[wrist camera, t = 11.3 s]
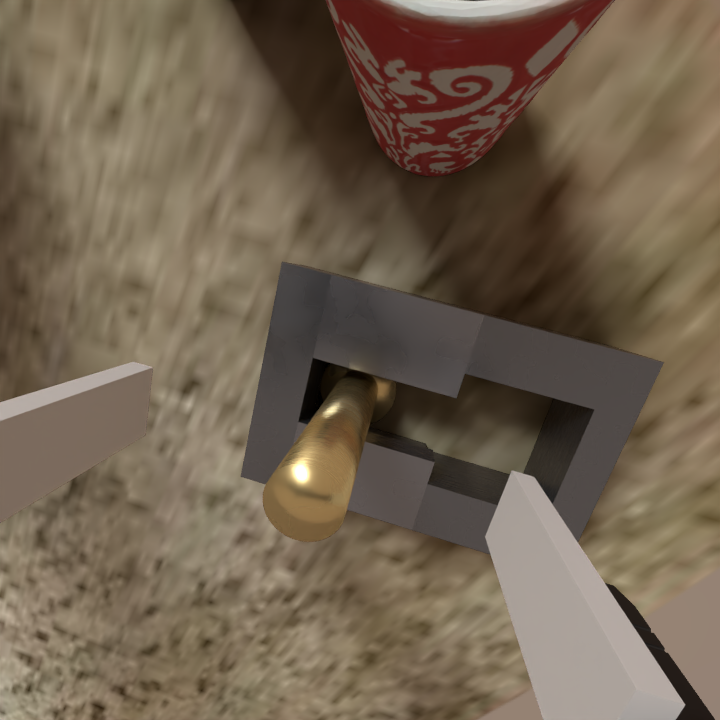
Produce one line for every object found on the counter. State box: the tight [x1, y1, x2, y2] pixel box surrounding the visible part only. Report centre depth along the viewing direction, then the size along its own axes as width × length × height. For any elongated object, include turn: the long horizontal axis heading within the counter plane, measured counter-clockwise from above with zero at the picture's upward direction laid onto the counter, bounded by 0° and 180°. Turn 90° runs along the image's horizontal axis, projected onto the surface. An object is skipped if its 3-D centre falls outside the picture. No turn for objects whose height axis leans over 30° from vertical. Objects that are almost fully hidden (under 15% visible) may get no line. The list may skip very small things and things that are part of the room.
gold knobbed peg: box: [263, 363, 397, 542], centre depth 16 cm, size 4×4×12 cm
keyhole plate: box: [241, 262, 664, 555], centre depth 20 cm, size 18×12×4 cm, turn 75°
